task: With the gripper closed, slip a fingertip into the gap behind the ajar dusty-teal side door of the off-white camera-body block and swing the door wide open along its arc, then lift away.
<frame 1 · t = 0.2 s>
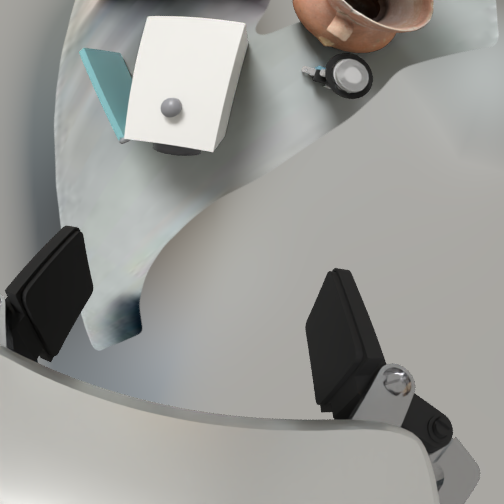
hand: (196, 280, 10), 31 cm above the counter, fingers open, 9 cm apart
push button: (324, 76, 30), on the counter
side door: (117, 92, 26), point 6 cm above the counter, hinge at 35.0°
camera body: (200, 82, 31), on the counter
ceramic jug: (343, 8, 24), on the counter
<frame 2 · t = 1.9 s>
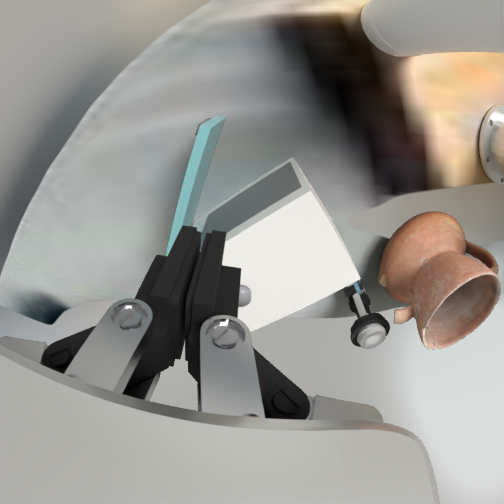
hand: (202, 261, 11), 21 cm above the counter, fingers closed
push button: (352, 285, 39), on the counter
side door: (191, 187, 25), point 6 cm above the counter, hinge at 35.0°
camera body: (265, 221, 33), on the counter
bottle: (390, 27, 19), on the counter
ceramic jug: (419, 246, 35), on the counter
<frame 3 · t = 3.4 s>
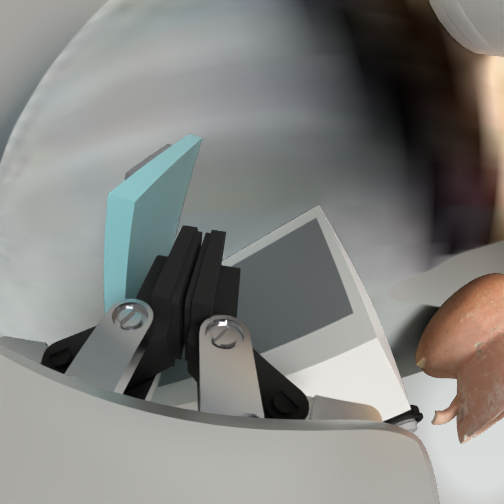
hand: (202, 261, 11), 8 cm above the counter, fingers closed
push button: (378, 357, 28), on the counter
side door: (143, 276, 14), point 6 cm above the counter, hinge at 35.2°, touching gripper
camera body: (270, 297, 22), on the counter
bottle: (462, 9, 8), on the counter
ceramic jug: (464, 308, 24), on the counter
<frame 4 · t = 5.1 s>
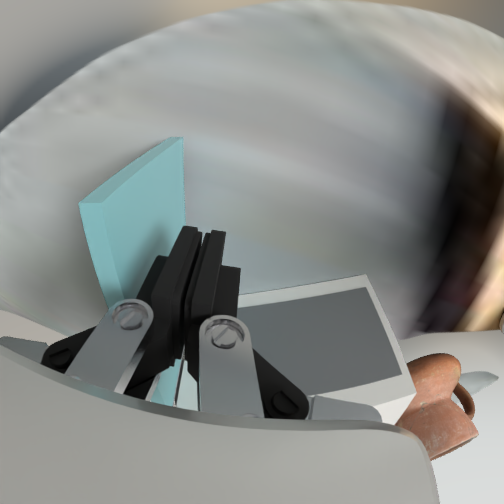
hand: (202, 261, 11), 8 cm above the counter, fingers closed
side door: (158, 284, 14), point 6 cm above the counter, hinge at 75.3°, touching gripper
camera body: (287, 329, 24), on the counter
ceramic jug: (412, 372, 31), on the counter
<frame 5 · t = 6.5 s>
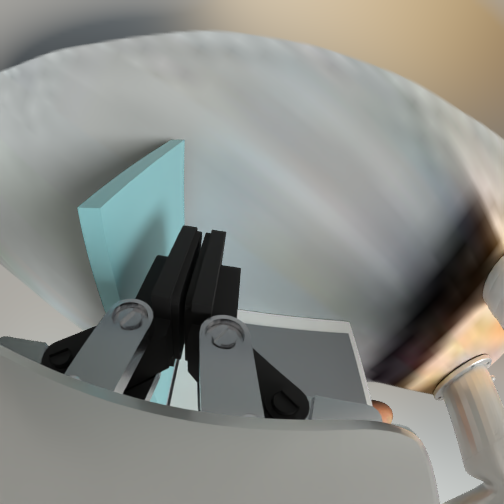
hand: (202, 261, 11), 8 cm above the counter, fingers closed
side door: (154, 286, 14), point 6 cm above the counter, hinge at 94.8°
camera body: (263, 348, 26), on the counter
bottle: (502, 274, 21), on the counter
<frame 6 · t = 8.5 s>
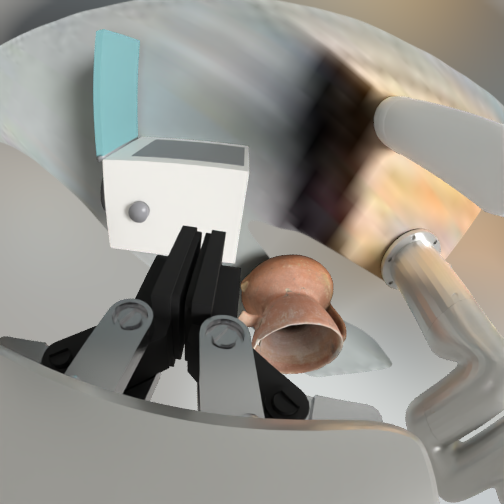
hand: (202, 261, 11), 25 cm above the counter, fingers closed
side door: (116, 92, 23), point 6 cm above the counter, hinge at 94.8°
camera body: (190, 176, 34), on the counter
bottle: (396, 122, 30), on the counter
ceramic jug: (289, 282, 45), on the counter
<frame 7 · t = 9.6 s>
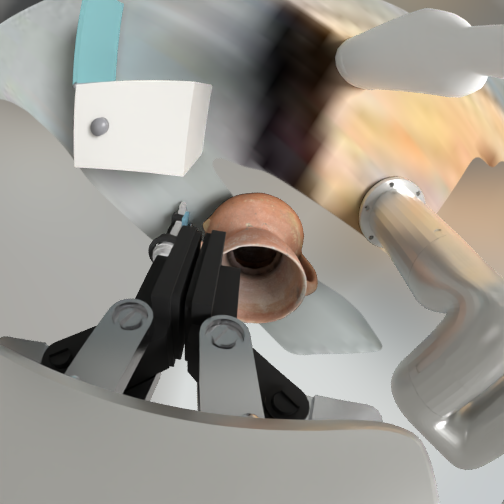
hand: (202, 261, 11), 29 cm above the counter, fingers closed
push button: (183, 219, 42), on the counter
side door: (97, 40, 22), point 6 cm above the counter, hinge at 94.8°
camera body: (158, 115, 33), on the counter
bottle: (360, 63, 28), on the counter
ceramic jug: (258, 230, 43), on the counter
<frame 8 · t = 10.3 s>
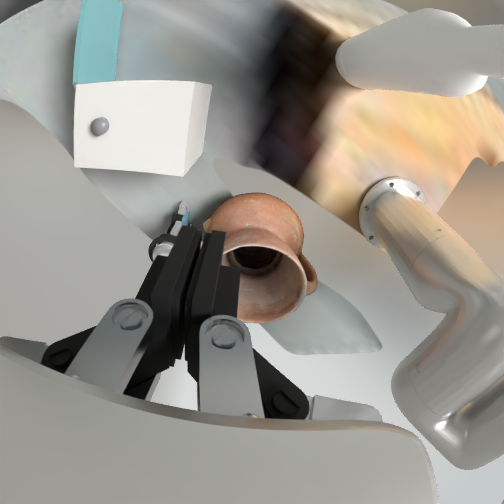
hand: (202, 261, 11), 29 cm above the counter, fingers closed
push button: (183, 219, 42), on the counter
side door: (97, 40, 22), point 6 cm above the counter, hinge at 94.8°
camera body: (158, 115, 33), on the counter
bottle: (360, 63, 28), on the counter
ceramic jug: (258, 230, 43), on the counter
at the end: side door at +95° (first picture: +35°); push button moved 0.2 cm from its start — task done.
